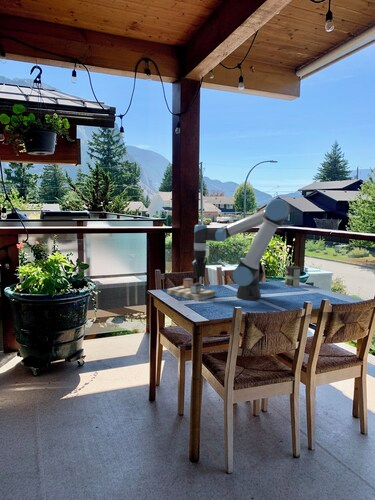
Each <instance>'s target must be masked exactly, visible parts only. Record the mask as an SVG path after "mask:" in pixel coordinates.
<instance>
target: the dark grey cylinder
mask: <svg viewBox="0 0 375 500" xmlns="http://www.w3.org/2000/svg"><path fill="white" fill-rule="evenodd" d="M259 266H260V267H259V283H260V282H261V281H262V280H263V277H264V275H265V272H264V270H263V265H262V263H261V262H259Z"/></svg>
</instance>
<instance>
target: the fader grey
mask: <svg viewBox="0 0 375 500" xmlns="http://www.w3.org/2000/svg"><path fill="white" fill-rule="evenodd" d="M190 286H191V292H190V293H194V294H197V293H200V292H201V289H202V283H201V284H198V283H196V282H195V283H194V282H193V284H190Z"/></svg>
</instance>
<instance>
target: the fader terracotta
mask: <svg viewBox="0 0 375 500" xmlns="http://www.w3.org/2000/svg"><path fill="white" fill-rule="evenodd" d="M182 281H183V283H182V286H183V287H187V288H189V287H191V286H190V284H194V278H190V277H186V278H182Z"/></svg>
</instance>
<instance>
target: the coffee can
mask: <svg viewBox="0 0 375 500" xmlns="http://www.w3.org/2000/svg"><path fill="white" fill-rule="evenodd" d="M300 277H301V267H300V266H297V265H286V266H285V279H284V286H285V285H286V286H285V287H288V286H290V288H299V287H300V279H301V278H300Z"/></svg>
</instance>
